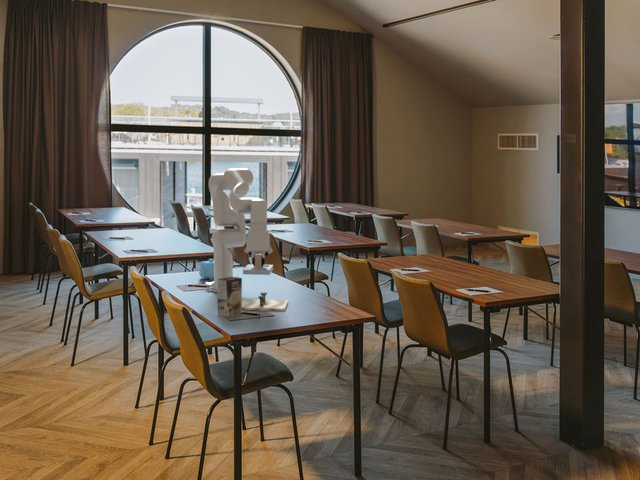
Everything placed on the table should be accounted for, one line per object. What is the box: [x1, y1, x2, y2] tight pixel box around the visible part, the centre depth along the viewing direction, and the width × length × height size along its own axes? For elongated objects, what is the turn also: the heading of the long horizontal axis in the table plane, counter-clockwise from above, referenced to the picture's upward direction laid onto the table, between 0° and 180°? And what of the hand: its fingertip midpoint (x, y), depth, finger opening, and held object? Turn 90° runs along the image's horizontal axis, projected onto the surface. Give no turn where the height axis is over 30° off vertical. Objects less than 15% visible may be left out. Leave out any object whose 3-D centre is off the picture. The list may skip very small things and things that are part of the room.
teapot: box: [198, 258, 214, 281], centre depth 394 cm, size 15×14×11 cm
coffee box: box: [217, 276, 243, 318], centre depth 308 cm, size 9×6×16 cm
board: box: [242, 292, 289, 312], centre depth 325 cm, size 22×18×6 cm
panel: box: [242, 253, 274, 276], centre depth 323 cm, size 12×16×8 cm
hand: (258, 265), depth 324 cm, fingers closed on panel, 3 cm apart
